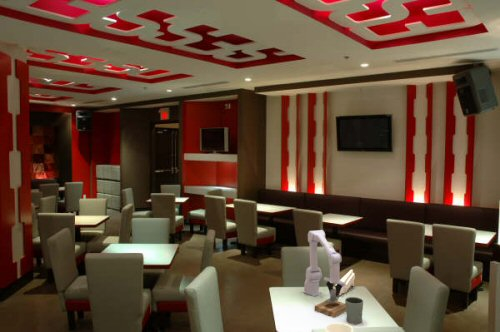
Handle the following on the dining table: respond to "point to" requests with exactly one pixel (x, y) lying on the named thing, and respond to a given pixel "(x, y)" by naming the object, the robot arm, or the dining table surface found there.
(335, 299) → the steel bracket
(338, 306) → the oak well block
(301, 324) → the dining table surface
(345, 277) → the shelf bracket
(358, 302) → the gray cup
